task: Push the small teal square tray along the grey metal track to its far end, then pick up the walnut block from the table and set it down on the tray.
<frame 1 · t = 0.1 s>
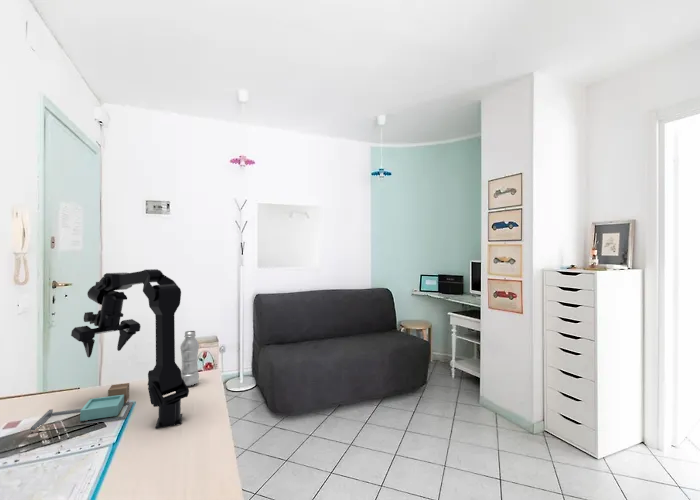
hand: (104, 353, 115), 15 cm above the table, tool pointing down, fingers open, 9 cm apart
track: (87, 417, 102), on the table
plastic bottle: (189, 385, 129), on the table
teal square tray: (103, 408, 104), point 2 cm above the table, slide at 0.0 cm
walnut block: (118, 401, 114), on the table
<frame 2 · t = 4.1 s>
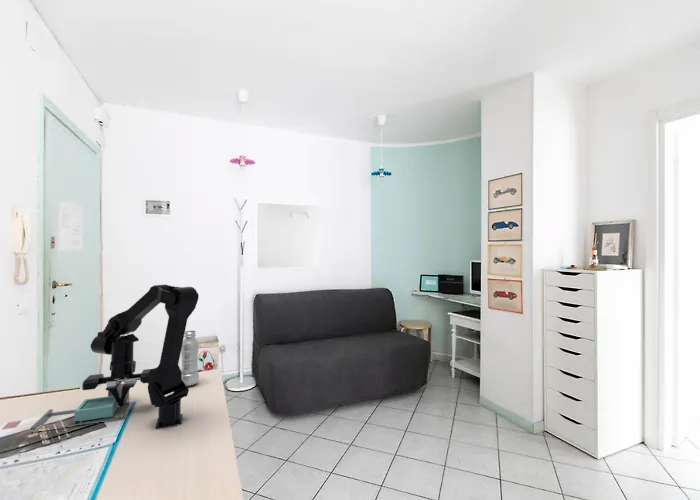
hand: (121, 406, 106), 2 cm above the table, tool pointing down, fingers closed
teal square tray: (98, 409, 103), point 2 cm above the table, slide at 1.4 cm, touching gripper
everything else where it was.
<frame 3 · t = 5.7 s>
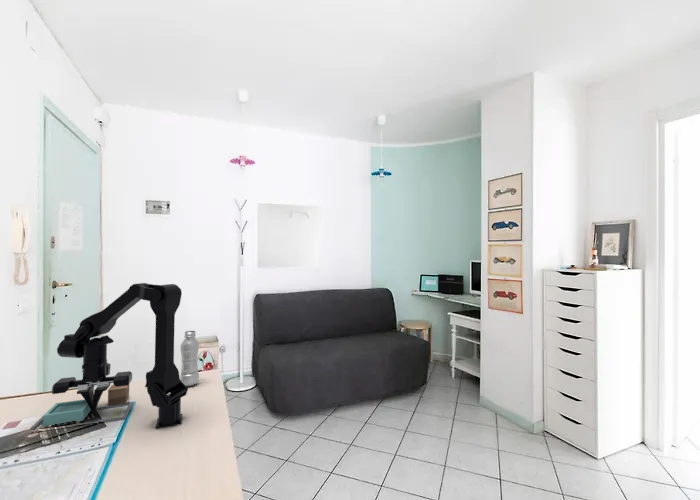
hand: (93, 410, 103), 2 cm above the table, tool pointing down, fingers closed
teal square tray: (69, 413, 101), point 2 cm above the table, slide at 8.4 cm, touching gripper
everything else where it was.
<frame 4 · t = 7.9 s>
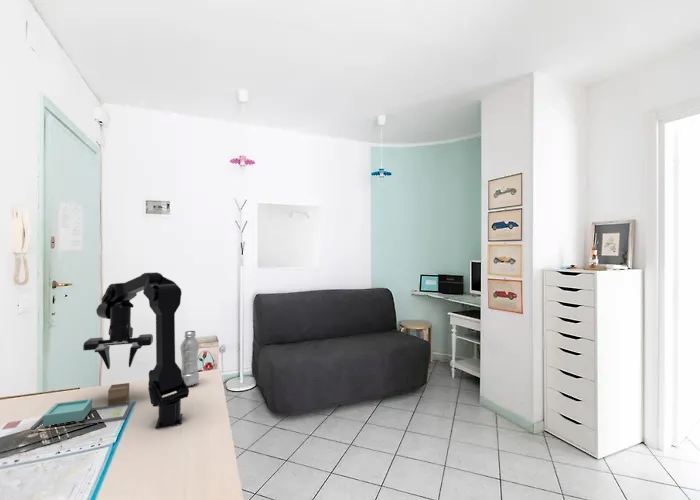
hand: (119, 367, 114), 11 cm above the table, tool pointing down, fingers open, 6 cm apart
teal square tray: (68, 413, 101), point 2 cm above the table, slide at 8.4 cm
everything else where it was.
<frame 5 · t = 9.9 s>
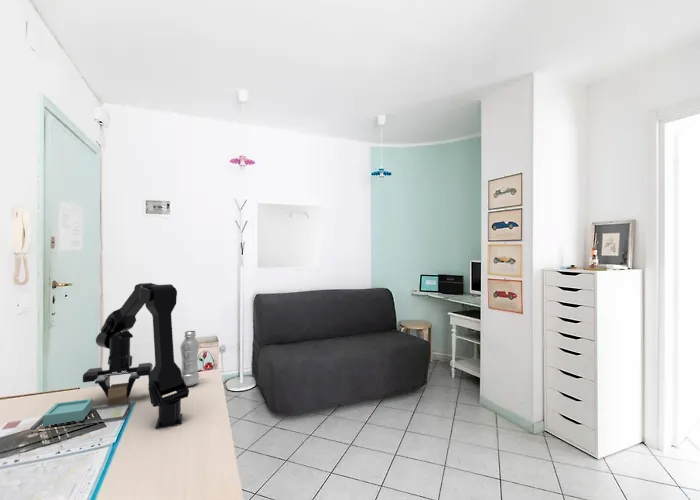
hand: (118, 398, 114), 1 cm above the table, tool pointing down, fingers closed on walnut block, 5 cm apart
walnut block: (118, 401, 114), on the table, touching gripper
everything else where it was.
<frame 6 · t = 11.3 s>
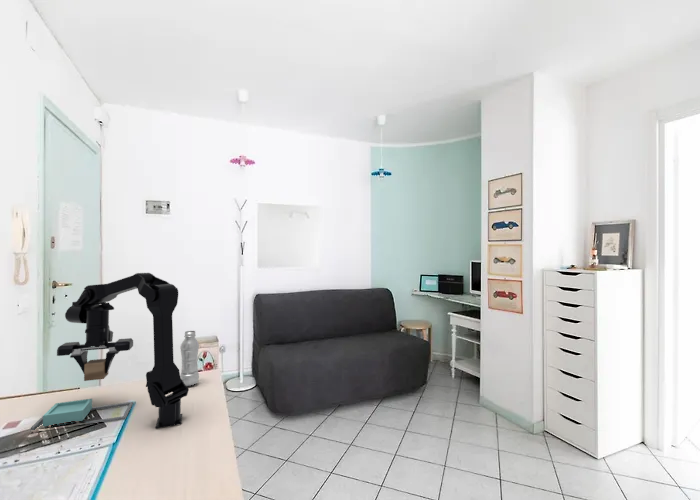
hand: (96, 374, 108), 11 cm above the table, tool pointing down, fingers closed on walnut block, 5 cm apart
walnut block: (96, 377, 108), point 10 cm above the table, touching gripper
everything else where it was.
when the fingers open (5 cm above the table, at t = 13.1 s): walnut block drops 1 cm, resting on teal square tray.
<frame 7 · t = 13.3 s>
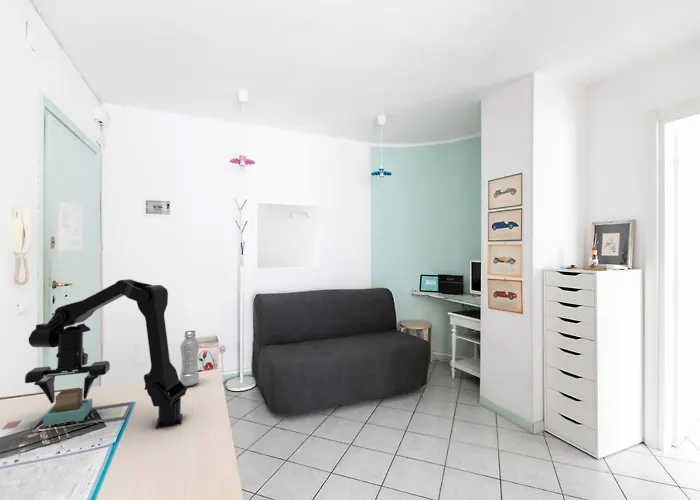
hand: (69, 400, 101), 5 cm above the table, tool pointing down, fingers open, 7 cm apart
teal square tray: (68, 413, 101), point 2 cm above the table, slide at 8.4 cm, touching walnut block
walnut block: (69, 409, 101), point 3 cm above the table, touching teal square tray
everything else where it was.
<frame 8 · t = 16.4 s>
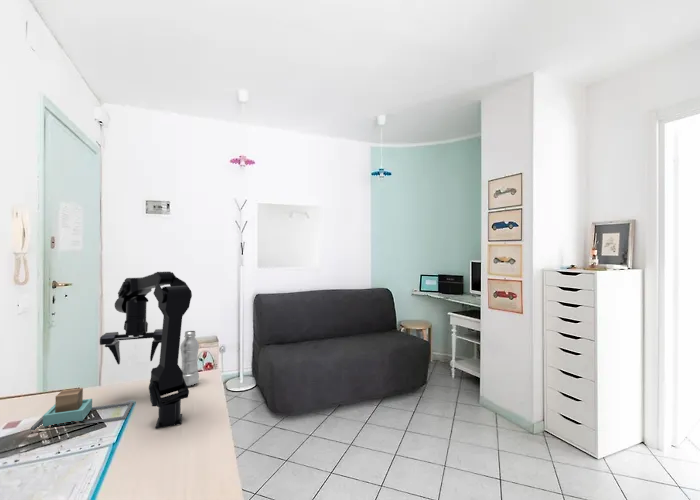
hand: (135, 362, 113), 13 cm above the table, tool pointing down, fingers open, 9 cm apart
nothing on the table moved.
at the end: teal square tray slide at 8.4 cm; walnut block inside the target area on the teal square tray (0.1 cm from its centre), point 3.0 cm above the teal square tray's base; walnut block tilted 0° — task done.
